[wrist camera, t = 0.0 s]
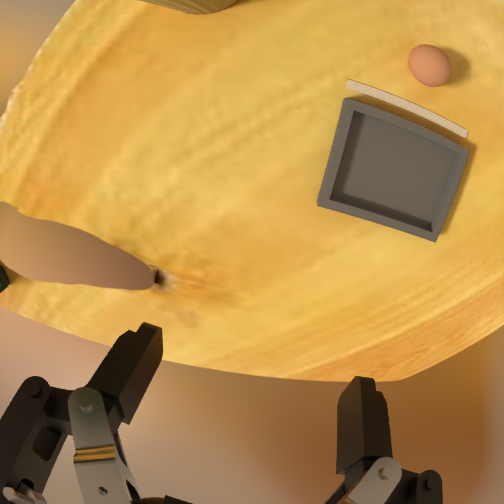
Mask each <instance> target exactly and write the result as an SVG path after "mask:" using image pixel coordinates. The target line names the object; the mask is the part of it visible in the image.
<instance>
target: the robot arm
mask: <svg viewBox="0 0 504 504" xmlns="http://www.w3.org/2000/svg"><path fill="white" fill-rule="evenodd" d="M162 355H163V339H162V328H161V327H158V326H155V325H152V324H149V323H146V322H143V323H142V324H141V326H140V327H139V329H138V330H137V332H133V331H131V330H128V331H127V332H125V333H124V334H122V335H121V336H119V338H118V339H117V340H116V342H115V343H114V345H113V347H112V348H111V350H110V351H109V352H108V355H107V356H106V357H105V358H104V360H103V361H102V363H101V364H100V366H99V367H98V369H97V370H96V372H95V373H94V375H93V377H92V378H91V380H90V381H89V382H88V384H87V385H85V386H84V387H81V388H77V389H76V390H65V389H60V388H55V387H50V386H49V384H48V382H47V381H46V380H45V379H43V378H42V377H38V376H32V377H29V378H27V379H26V380H25V381H24V382H23V383H22V385H21V386H20V388H19V390H18V391H17V393H16V394H15V396H14V397H13V399H12V401H11V402H10V404H9V406H8V407H7V409H6V411H5V413H4V415H3V416H2V418H1V420H0V504H47V502H46V500H45V498H44V497H43V495H42V492H43V490H44V488H45V485H46V483H47V480H48V478H49V475H50V473H51V471H52V468H53V466H54V464H55V461H56V459H57V457H58V455H59V453H60V450H61V448H62V446H63V444H64V442H65V440H66V438H67V436H68V435H72V436H73V440H74V445H75V450H76V453H75V455H74V457H73V460H74V466H75V471H76V474H77V478H78V482H79V485H80V489H81V493H82V496H83V499H84V502H85V504H192V503H189V502H185V501H182V500H179V499H176V498H173V497H170V496H167V495H166V496H165V498H159V497H158V498H157V497H151V498H141V495H140V492H139V490H138V487H137V485H136V482H135V480H134V478H133V475H132V473H131V471H130V469H129V466H128V463H127V460H126V457H125V454H124V450H123V447H122V444H121V440H120V437H119V433H118V428H119V426H120V424H121V422H124V423H126V424H128V425H129V424H130V422H131V420H132V418H133V416H134V414H135V412H136V410H137V408H138V406H139V404H140V402H141V400H142V398H143V396H144V394H145V392H146V390H147V388H148V386H149V384H150V382H151V380H152V378H153V376H154V374H155V372H156V370H157V368H158V366H159V364H160V362H161V359H162ZM387 414H388V409H387V402H386V400H385V398H384V396H383V394H382V392H379V391H376V387H375V381H374V379H373V378H368V377H361V376H355V377H354V378H353V380H352V381H351V382H350V384H349V385H348V386H347V388H346V389H345V390H344V392H343V393H342V394H341V396H340V398H339V401H338V406H337V461H336V474H345V480H344V481H343V482H342V483H341V484H340V485H339V486H338V487H337V488H336V490H334V492H332V493H331V495H330V496H329V497H328V498H327V499H326V500H325V501H324V502H323V503H322V504H443V497H442V496H443V494H442V480H441V477H440V475H439V474H438V473H437V472H436V471H434V470H427V471H424V472H422V473H421V474H418V473H414V472H411V471H407V470H404V469H402V468H401V467H400V464H399V463H398V462H397V461H396V460H394V459H393V456H392V447H391V436H390V426H389V417H388V415H387Z"/></svg>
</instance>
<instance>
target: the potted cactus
mask: <svg viewBox="0 0 504 504" xmlns="http://www.w3.org/2000/svg"><path fill="white" fill-rule="evenodd" d="M139 1H144V2H148V3H152V4H156V5H160V6H164V7H168V8H171V9H175V10H178V11H182V12H185V13H188V14H195V15H204V14H211V13H215V12H218V11H221V10H223V9H225V8H227V7H229V6H231V5H232V4H234V3H235V2H236V1H238V0H139Z"/></svg>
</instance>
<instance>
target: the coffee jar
mask: <svg viewBox="0 0 504 504" xmlns="http://www.w3.org/2000/svg"><path fill="white" fill-rule="evenodd" d="M8 285H9V283H8V278H7V275H6V273H5V272H4V271H3V269H2V267H1V266H0V293H1V292H2V291H3V290H4V289H6V288H7V287H8Z"/></svg>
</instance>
